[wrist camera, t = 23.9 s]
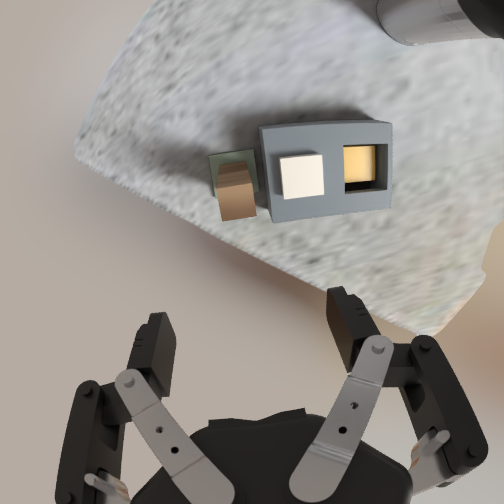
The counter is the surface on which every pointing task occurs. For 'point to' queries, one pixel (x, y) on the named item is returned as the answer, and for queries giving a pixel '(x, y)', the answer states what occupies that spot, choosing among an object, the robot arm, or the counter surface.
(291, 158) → the on button
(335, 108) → the counter surface
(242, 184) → the tall wooden block
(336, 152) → the switch panel
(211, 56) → the counter surface
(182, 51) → the counter surface
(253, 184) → the rubber mat
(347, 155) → the plunger
